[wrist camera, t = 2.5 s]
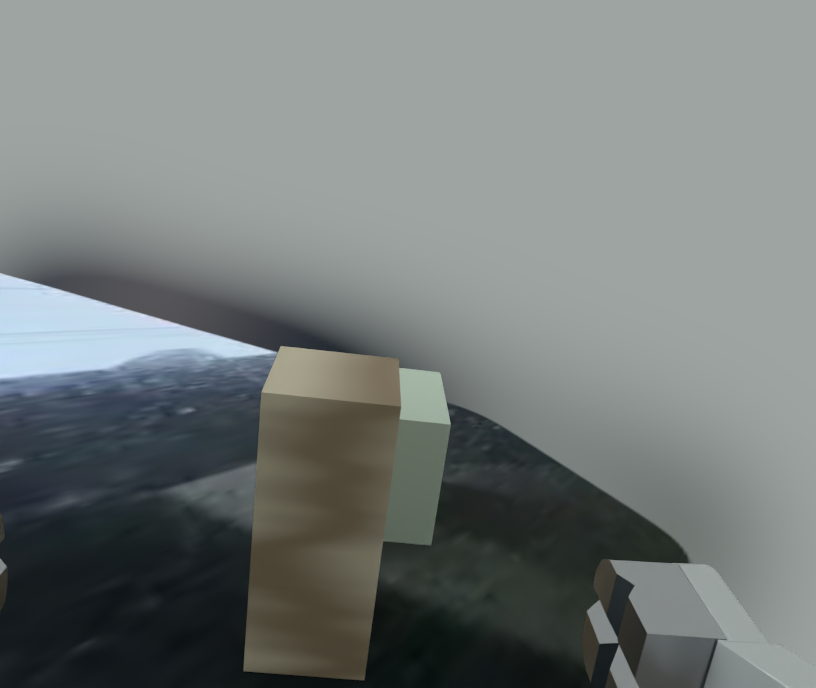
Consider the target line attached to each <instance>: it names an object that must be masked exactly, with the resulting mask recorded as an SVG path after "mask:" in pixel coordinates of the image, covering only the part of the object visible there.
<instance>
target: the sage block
mask: <svg viewBox="0 0 816 688" xmlns="http://www.w3.org/2000/svg"><path fill="white" fill-rule="evenodd" d="M399 375H400V393H401V412H400V419H399V427H398V434H397V442H396V449H395V457H394V464H393V471H392V479H391V486H390V494H389V501H388V509H387V516H386V524H385V531H384V538H383V541H387V542H398V543H409V544H420V545H431V544H432V537H433V531H434V525H435V519H436V513H437V506H438V500H439V494H440V488H441V482H442V476H443V469H444V463H445V457H446V451H447V445H448V438H449V432H450V426H451V423H450V418H449V414H448V409H447V404H446V399H445V394H444V389H443V384H442V379H441V374H440V372H430V371H422V370H412V369H404V368H399Z"/></svg>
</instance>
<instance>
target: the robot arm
mask: <svg viewBox="0 0 816 688" xmlns="http://www.w3.org/2000/svg"><path fill="white" fill-rule="evenodd" d="M4 538H5V533H4V524H3V516H2V515H1V514H0V543H1V542H2V541H3V539H4ZM7 585H8V577H7V566H6V565H5V564H4V563H3V561H2V560H1V559H0V613H1V611H2V608H3V606H4V603H5V599H6V592H7ZM593 586H594V588H595V590H596V593H597V595H598V597H599V601H597V602H596V603H595V604H594V605H593V606H592V607H591V608H590V609H589V610H588V611H587V613H586V618H585V623H584V628H583V657H584V662H585V668H586V671H587V674H588V677H589V680H590V683H591V684H593V685H594V686H595V687H596V688H816V666H814V665H813V664H811V663H810V662H808V661H806V660H805V659H803V658H802V657H800V656H798V655H797V654H795V653H793V652H792V651H790V650H789V649H787V648H785V647H784V646H782V645H779V644H769V642H768V641H767V640H766V639H765V637H764V636H763V634H762V633H761V632H760V630H759V629H758V628H757V626H756V625H755V623H754V622H753V621H752V619H751V618H750V616H749V615H748V614H747V612H746V611H745V610H744V608H743V607H742V606H741V604H740V603H739V601H738V600H737V599H736V597H735V596H734V595H733V593H732V592H731V591H730V589H729V588H728V586H727V585H726V584H725V582H724V581H723V580H722V578H721V577H720V575H719V574H718V573H717V571H716V570H715V569H714V568H712V567H710V566H708V565H706V564H683V563H656V562H639V561H623V560H606V559H602V560H601V562H600V564H599V566H598V567H597V570H596V574H595V578H594V582H593Z"/></svg>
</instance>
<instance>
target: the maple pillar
mask: <svg viewBox="0 0 816 688" xmlns="http://www.w3.org/2000/svg"><path fill="white" fill-rule="evenodd" d="M400 412H401V393H400V375H399V359H395V358H386V357H377V356H367V355H358V354H349V353H339V352H331V351H321V350H311V349H303V348H294V347H283V346H281V347H280V350H279V352H278V354H277V357H276V359H275V362H274V364H273V366H272V369H271V371H270V373H269V376H268V378H267V380H266V383H265V385H264V388H263V390H262V393H261V408H260V424H259V439H258V454H257V470H256V485H255V500H254V516H253V531H252V546H251V562H250V577H249V592H248V608H247V623H246V638H245V654H244V669H243V671H247V672H260V673H273V674H286V675H299V676H313V677H326V678H339V679H352V680H365V673H366V665H367V658H368V650H369V643H370V635H371V628H372V620H373V613H374V606H375V598H376V591H377V583H378V576H379V568H380V561H381V553H382V546H383V538H384V531H385V524H386V516H387V509H388V501H389V494H390V486H391V479H392V471H393V464H394V457H395V449H396V442H397V434H398V427H399V419H400Z"/></svg>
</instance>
